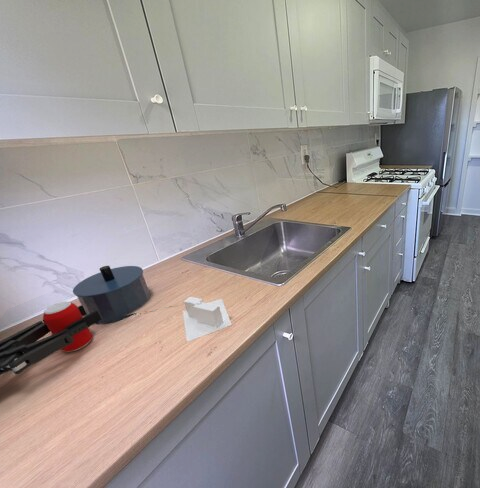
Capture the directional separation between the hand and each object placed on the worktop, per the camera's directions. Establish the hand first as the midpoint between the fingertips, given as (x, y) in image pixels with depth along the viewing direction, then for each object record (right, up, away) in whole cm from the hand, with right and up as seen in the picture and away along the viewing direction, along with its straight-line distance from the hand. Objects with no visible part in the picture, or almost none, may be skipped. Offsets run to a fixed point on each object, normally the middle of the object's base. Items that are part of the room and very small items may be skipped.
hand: (91, 312), depth 69 cm
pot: (-2, -2, +13) cm, 13 cm away
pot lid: (-2, +7, +9) cm, 12 cm away
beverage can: (-2, -8, -2) cm, 8 cm away
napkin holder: (+28, -3, +6) cm, 29 cm away
